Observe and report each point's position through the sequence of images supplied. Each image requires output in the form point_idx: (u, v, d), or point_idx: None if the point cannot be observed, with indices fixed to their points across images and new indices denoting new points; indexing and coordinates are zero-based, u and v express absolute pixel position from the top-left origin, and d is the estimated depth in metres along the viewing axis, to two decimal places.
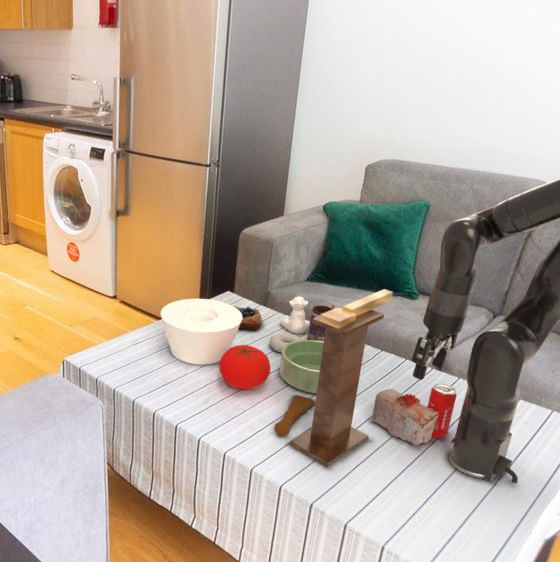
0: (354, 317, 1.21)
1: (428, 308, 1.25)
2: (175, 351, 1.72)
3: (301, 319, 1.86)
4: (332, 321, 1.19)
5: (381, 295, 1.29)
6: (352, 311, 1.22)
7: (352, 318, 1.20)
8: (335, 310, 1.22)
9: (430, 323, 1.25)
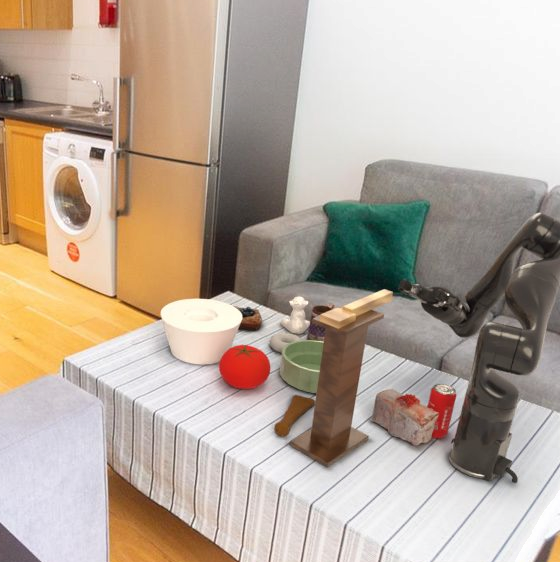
0: (354, 317, 1.21)
1: None
2: (175, 351, 1.72)
3: (301, 319, 1.86)
4: (332, 321, 1.19)
5: (381, 295, 1.29)
6: (352, 311, 1.22)
7: (352, 318, 1.20)
8: (335, 310, 1.22)
9: None
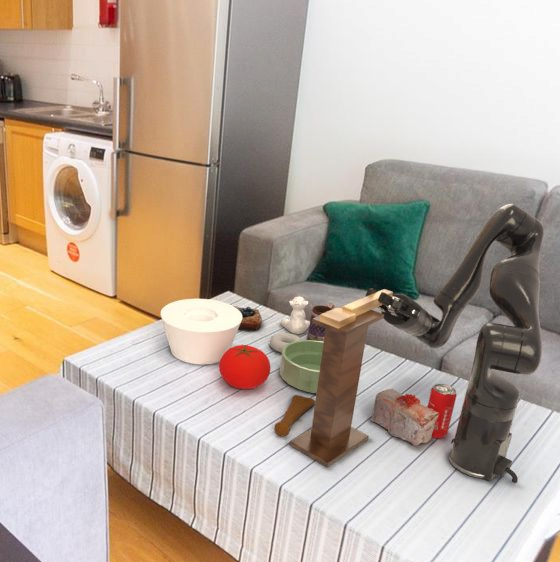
0: (353, 317, 1.21)
1: None
2: (175, 351, 1.72)
3: (301, 319, 1.86)
4: (331, 321, 1.19)
5: None
6: (351, 311, 1.22)
7: (352, 318, 1.20)
8: (335, 310, 1.22)
9: None
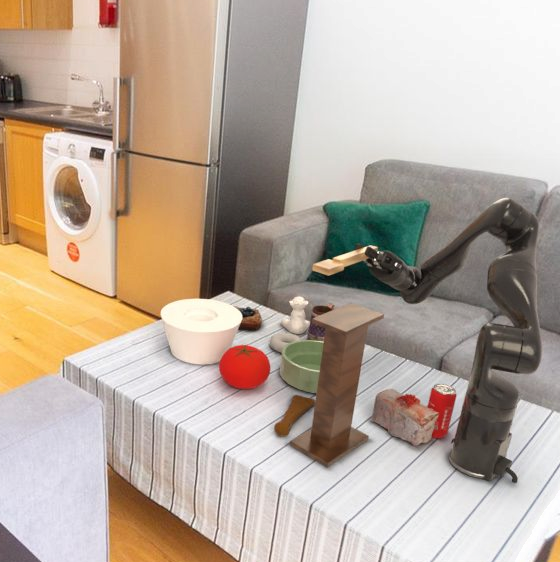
0: (342, 267, 1.38)
1: None
2: (175, 351, 1.72)
3: (301, 319, 1.86)
4: (323, 269, 1.36)
5: None
6: (340, 261, 1.39)
7: (341, 267, 1.38)
8: (326, 261, 1.40)
9: None
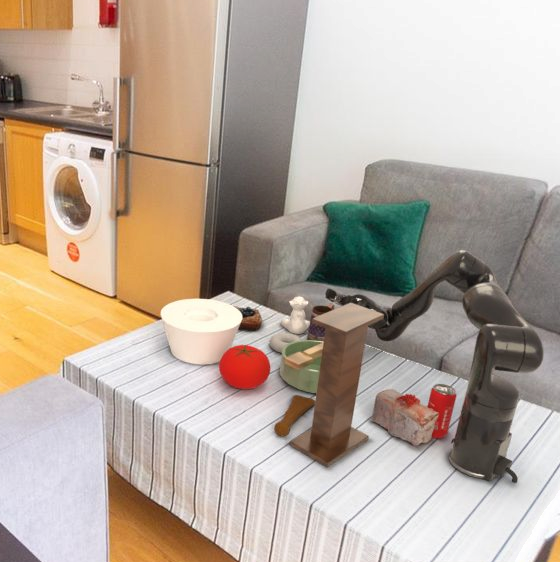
0: (311, 361, 1.55)
1: None
2: (175, 351, 1.72)
3: (301, 319, 1.86)
4: (293, 364, 1.53)
5: None
6: (309, 355, 1.56)
7: (309, 361, 1.55)
8: (297, 354, 1.57)
9: None
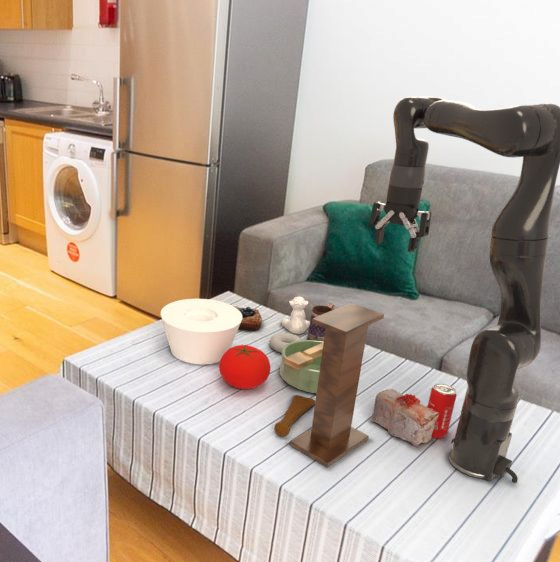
0: (311, 361, 1.55)
1: None
2: (175, 351, 1.72)
3: (301, 319, 1.86)
4: (293, 364, 1.53)
5: None
6: (309, 355, 1.56)
7: (309, 361, 1.55)
8: (297, 354, 1.57)
9: None
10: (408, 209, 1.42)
